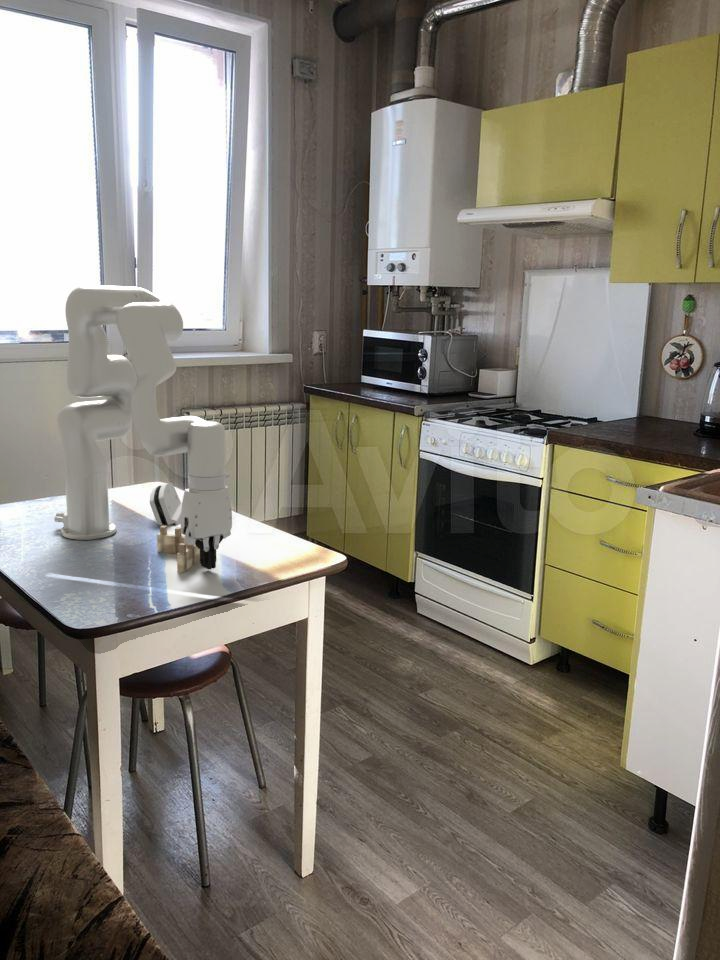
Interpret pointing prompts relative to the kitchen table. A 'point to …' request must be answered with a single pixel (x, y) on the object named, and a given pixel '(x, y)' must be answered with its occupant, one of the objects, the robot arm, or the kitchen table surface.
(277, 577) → the kitchen table surface
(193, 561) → the fence flap
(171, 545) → the fence fixed
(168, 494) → the black-banded white body
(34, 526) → the kitchen table surface
